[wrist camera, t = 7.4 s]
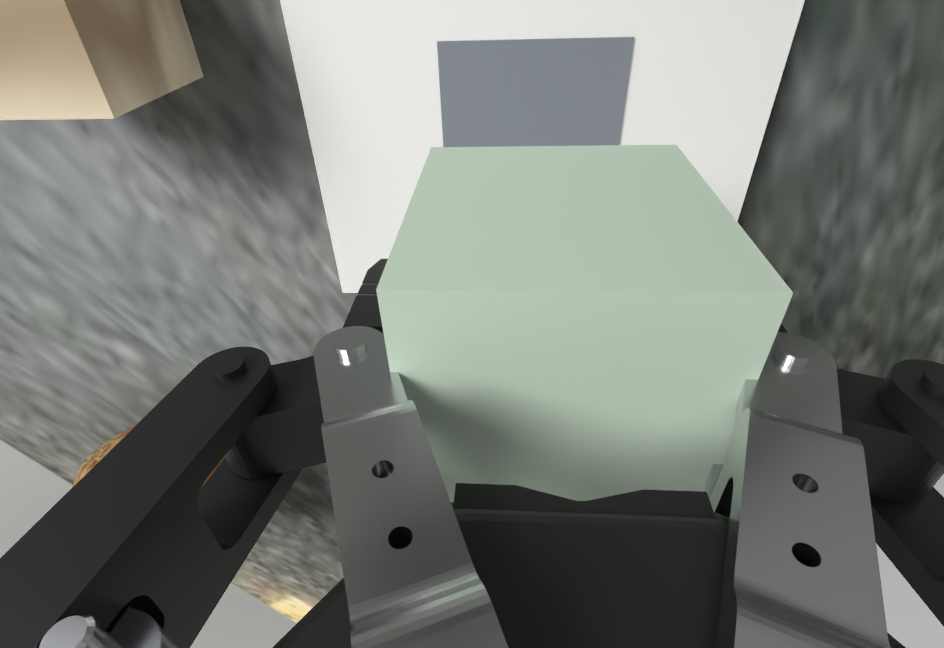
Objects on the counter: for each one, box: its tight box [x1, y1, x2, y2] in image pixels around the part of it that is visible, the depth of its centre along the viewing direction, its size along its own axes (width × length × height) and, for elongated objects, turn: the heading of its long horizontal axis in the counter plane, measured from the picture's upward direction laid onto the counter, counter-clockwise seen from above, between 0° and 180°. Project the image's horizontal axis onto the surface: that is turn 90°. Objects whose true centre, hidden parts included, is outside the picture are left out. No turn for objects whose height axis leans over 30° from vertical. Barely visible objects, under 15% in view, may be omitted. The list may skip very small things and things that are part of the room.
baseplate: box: [280, 0, 805, 293], centre depth 21 cm, size 15×18×1 cm
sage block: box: [376, 145, 793, 502], centre depth 11 cm, size 6×6×6 cm
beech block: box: [0, 0, 204, 120], centre depth 17 cm, size 6×6×6 cm
